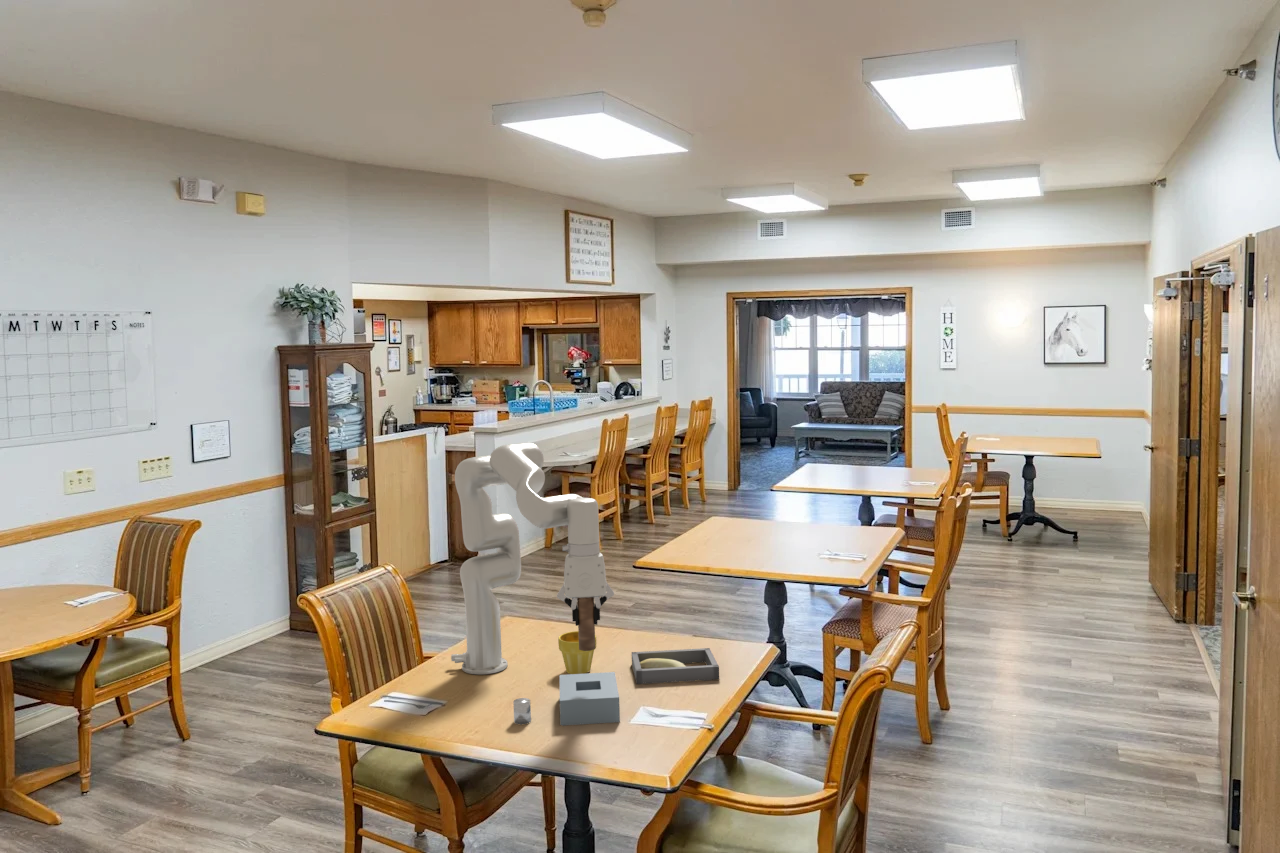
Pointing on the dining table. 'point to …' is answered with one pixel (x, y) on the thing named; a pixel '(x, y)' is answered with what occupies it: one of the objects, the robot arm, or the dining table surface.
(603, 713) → the hole block
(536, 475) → the robot arm
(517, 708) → the short steel pin
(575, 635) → the plant pot
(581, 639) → the long walnut pin
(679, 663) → the fruit
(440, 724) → the dining table surface
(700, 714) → the dining table surface
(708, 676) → the tray
